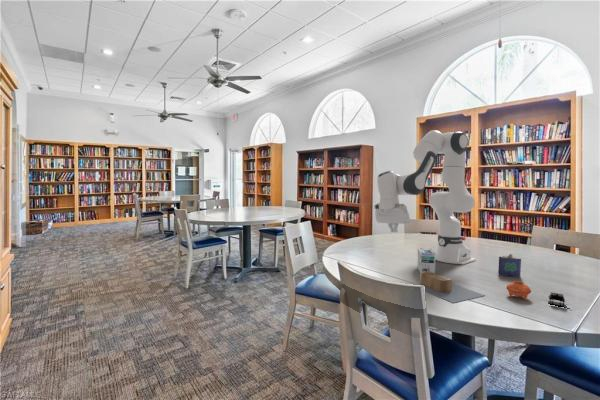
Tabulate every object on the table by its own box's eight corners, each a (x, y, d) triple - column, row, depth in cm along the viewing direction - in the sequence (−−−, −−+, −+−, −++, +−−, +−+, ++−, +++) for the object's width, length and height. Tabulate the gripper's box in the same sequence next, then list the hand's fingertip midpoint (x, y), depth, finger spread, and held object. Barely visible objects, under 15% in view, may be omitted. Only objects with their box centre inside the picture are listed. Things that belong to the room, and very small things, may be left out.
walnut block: (428, 271, 136) (451, 279, 125) (428, 281, 137) (451, 291, 126) (420, 272, 134) (443, 280, 123) (419, 283, 135) (442, 292, 124)
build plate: (535, 305, 114) (535, 293, 114) (535, 299, 120) (535, 287, 119) (579, 314, 106) (580, 301, 106) (577, 307, 112) (578, 295, 112)
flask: (519, 275, 146) (520, 253, 146) (521, 277, 144) (523, 255, 143) (497, 273, 149) (498, 252, 148) (499, 275, 146) (500, 253, 145)
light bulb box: (435, 275, 147) (436, 253, 146) (420, 274, 148) (421, 252, 147) (430, 268, 157) (431, 248, 156) (416, 268, 158) (417, 247, 158)
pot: (536, 298, 118) (535, 282, 117) (521, 305, 116) (520, 289, 115) (516, 290, 125) (515, 275, 124) (502, 297, 123) (500, 281, 122)
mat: (446, 281, 138) (446, 281, 138) (485, 295, 121) (485, 295, 121) (416, 287, 130) (416, 286, 130) (453, 303, 114) (453, 302, 114)
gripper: (410, 202, 141) (415, 231, 141) (381, 204, 159) (385, 230, 159) (400, 204, 138) (405, 234, 138) (371, 206, 156) (375, 232, 157)
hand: (394, 232), depth 149 cm, fingers closed
